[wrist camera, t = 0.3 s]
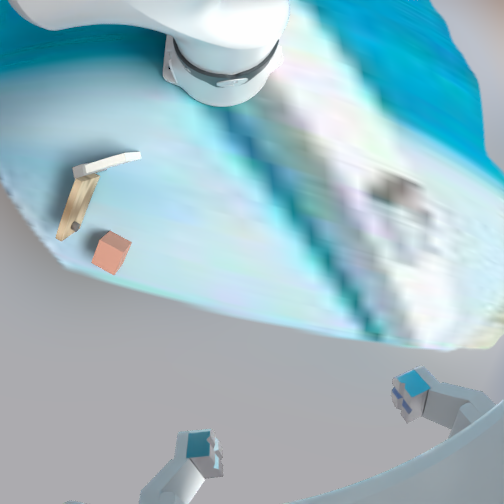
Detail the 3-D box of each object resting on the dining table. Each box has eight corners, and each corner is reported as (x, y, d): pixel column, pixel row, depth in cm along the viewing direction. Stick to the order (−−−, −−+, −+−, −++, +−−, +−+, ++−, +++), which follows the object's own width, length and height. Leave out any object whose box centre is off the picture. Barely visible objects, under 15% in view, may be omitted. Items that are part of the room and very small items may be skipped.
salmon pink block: (101, 252, 46) (91, 262, 41) (110, 230, 45) (99, 239, 40) (122, 263, 47) (114, 275, 42) (131, 242, 46) (123, 252, 41)
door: (94, 173, 41) (75, 178, 34) (104, 178, 41) (87, 184, 35) (74, 225, 43) (55, 237, 36) (84, 231, 44) (66, 244, 37)
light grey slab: (96, 162, 40) (72, 167, 32) (139, 150, 41) (121, 151, 32) (98, 172, 41) (74, 178, 33) (141, 160, 41) (124, 163, 33)
